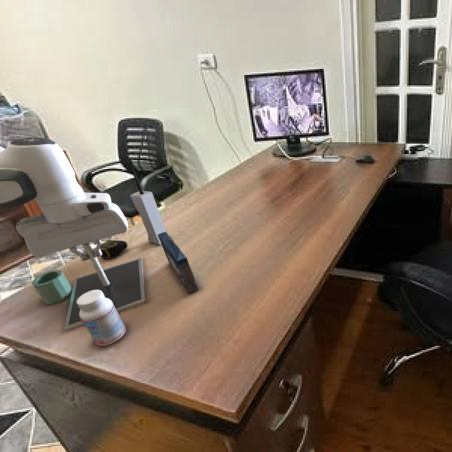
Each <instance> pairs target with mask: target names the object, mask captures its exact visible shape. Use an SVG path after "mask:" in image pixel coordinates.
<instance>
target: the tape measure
mask: <svg viewBox="0 0 452 452" xmlns="http://www.w3.org/2000/svg"><path fill="white" fill-rule="evenodd" d="M128 246H129V245H128V243H127V241H126V240H119V239H118V240H117V239H107V240H106V241H105V242H103V243H102V242H101V245H100V250H101V252H102V256H100V258H102V259H112V258H114V257H117V256H119V255H121V254H122V253H123V252H124V251H125V250H127V248H128Z"/></svg>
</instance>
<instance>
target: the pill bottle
mask: <svg viewBox="0 0 452 452" xmlns="http://www.w3.org/2000/svg"><path fill="white" fill-rule="evenodd" d="M77 304H78V306H79V308H80V312H79V316H80V318H81V320H82V322H83V323H84V327H85V328H86V330H87V332H88V333H89V335H90V337H91V338H92V340H93V342H94V343H95V344H96V346H99V347H105V346H110V345H112V344H114V343H116V342H117V341H119V340H120V339H121V338H122V337H123V336H124V335H125V333H126V330H127V329H126V325H125V324H124V322H123V320H122V318H121V316H120V314H119V312H117V310H116V308H115V306H114V305H113V303H112V301H111V300H110V299H108V298H105V296H104V294H103V293H102V291H100V290H92V291H89V292H87V293H85V294H83V295H81V296H80V297H79V298H78V299H77Z"/></svg>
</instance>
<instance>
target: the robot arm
mask: <svg viewBox="0 0 452 452" xmlns="http://www.w3.org/2000/svg"><path fill="white" fill-rule="evenodd" d="M31 201H35V203H36V204H37V205H38V207H39V209H40V211H41V214H35V215H33V216H30V217H24V218H21V219H20V220H19V221H18V222H16V225H15V229H16V231H17V232H18V234H19V236H21V237H22V238H23V239H24V242H25V246H26V247H27V249H28V251H29V253H30V255H32V256H33V257H36V258H41V257H45V256H47V255H51V254H54V253H55V254H56V253H58V252H61V251H65V250H68V249H69V251H70V253H72V254H74V255H76V256H77V257H79V258H80V260H81V261H82V262H85V261H88V260H89V261H90V259H89V257H88V255H87V253H86V251H85V250H84V251H83V250H81V249H80V248H78V247H80V246H82V245H83V244H87V243H89V244H91V243H93V245H94V246H95V247H94V248H92V250H93V251H92V253H93V255H94V257H96V258H98V257H99V258H100V257H101V256H102V252H101V250H100V245H101V244H102V240H103V239H104V240H105V239H107V238H111V237H115V236H119V235H121V234H125V233H127V232H128V230H129V221H128V220H127V218H126V216H125V214H124V213H123V211H122V209H121V208H120V207H119V205H117V204H116V203H114V202H112V198H111V195H110V194H109V193H106V192H85V191H84V189H83V188H82V186H81V185H80V184H79V183H78V181H77V179H76V173H75V171H74V169H73V166H72V165H71V163H70V161H69V159H68V157H67V156H66V154H65V152H64V150H62V148H61V146H60V145H59V144H58V143H57V142H56V141H54V140H52V139H51V138H50V139H49V138H44V137H37V136H36V137H24V138H17V139H14V140H12V141H10V142H9V144H8V145H7V146H6V145H3V144H1V143H0V212H5V211H9V210H13V209H14V208H17V207H21V206H23V205H25V204H28V203H29V202H31Z"/></svg>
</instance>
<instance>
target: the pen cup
mask: <svg viewBox="0 0 452 452" xmlns="http://www.w3.org/2000/svg"><path fill="white" fill-rule="evenodd" d="M31 285H32V287H33V289H34V290H35V291H36V293H37V294H38V296H39V297H40V299H41V301H43V303H44V304H46V305H52V304H57V303H59V302H62V301H64V300H66V299H67V298H68V297H70V296H71V294H72V289H73V286H71V284H70V282H69V281H68V279H67V277H66V276H65V274H64V272H63V271H62V270H61V269H54V270H49V271H46V272H43V273H42V274H40V275H37V276H36V277H35V278H34V279H33V280H32V281H31Z"/></svg>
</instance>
